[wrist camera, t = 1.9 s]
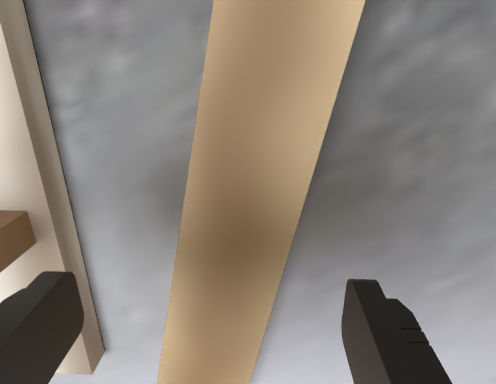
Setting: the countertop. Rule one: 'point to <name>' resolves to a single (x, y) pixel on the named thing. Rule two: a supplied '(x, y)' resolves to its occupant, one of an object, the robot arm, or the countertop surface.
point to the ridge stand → (36, 188)
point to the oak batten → (249, 176)
